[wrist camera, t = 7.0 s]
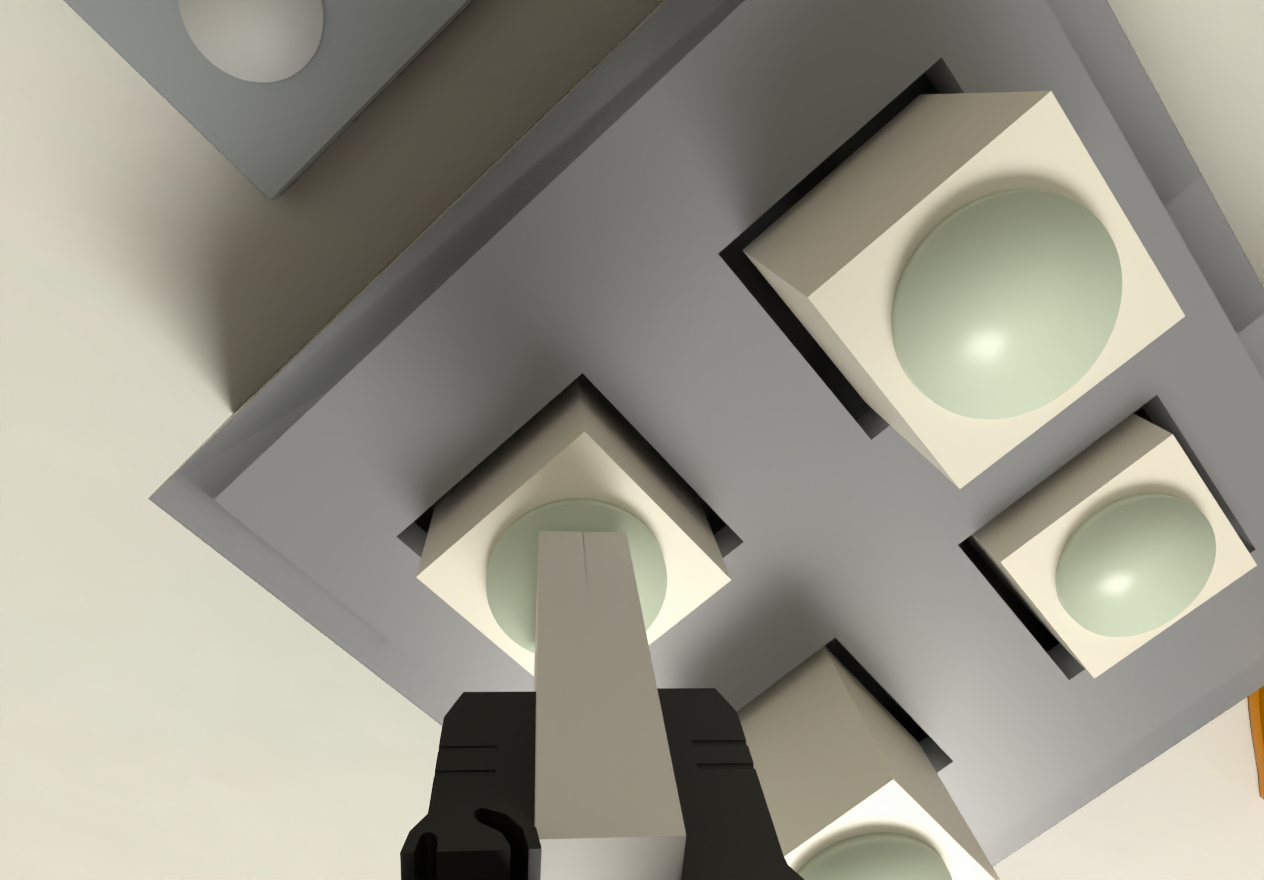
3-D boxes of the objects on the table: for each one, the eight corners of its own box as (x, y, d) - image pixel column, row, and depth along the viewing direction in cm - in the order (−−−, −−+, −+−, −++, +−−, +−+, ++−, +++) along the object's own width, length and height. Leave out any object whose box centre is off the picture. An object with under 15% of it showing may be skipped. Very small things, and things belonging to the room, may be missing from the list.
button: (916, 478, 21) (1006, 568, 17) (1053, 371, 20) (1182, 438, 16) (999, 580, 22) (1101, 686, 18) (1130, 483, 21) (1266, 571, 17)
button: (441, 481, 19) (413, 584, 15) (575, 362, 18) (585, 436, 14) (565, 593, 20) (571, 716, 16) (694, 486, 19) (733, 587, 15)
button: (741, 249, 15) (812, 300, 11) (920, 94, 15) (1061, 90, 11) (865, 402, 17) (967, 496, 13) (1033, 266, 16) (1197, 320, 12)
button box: (232, 414, 20) (148, 498, 15) (851, -181, 16) (956, -277, 12) (754, 857, 26) (794, 998, 22) (1264, 494, 23) (1422, 580, 19)
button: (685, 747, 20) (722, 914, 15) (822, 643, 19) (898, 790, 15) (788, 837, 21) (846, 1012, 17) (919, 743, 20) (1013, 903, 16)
